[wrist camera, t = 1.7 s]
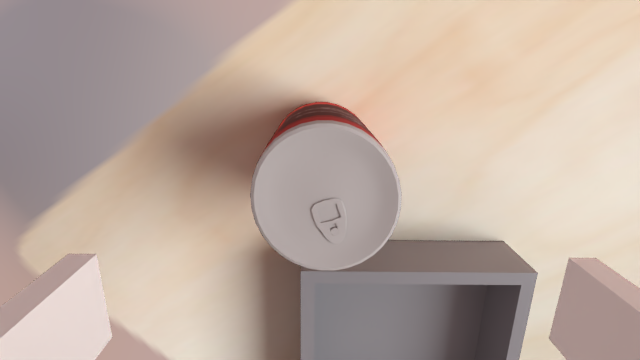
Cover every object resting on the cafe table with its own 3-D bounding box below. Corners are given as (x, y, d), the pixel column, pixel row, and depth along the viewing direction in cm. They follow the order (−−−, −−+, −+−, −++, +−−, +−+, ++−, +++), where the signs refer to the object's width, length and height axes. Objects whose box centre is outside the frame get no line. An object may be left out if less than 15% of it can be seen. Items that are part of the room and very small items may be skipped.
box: (475, 397, 36) (499, 448, 31) (302, 397, 36) (300, 448, 31) (503, 241, 31) (537, 273, 26) (302, 239, 31) (300, 271, 26)
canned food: (309, 216, 30) (306, 296, 20) (252, 136, 28) (215, 178, 18) (390, 167, 29) (432, 225, 19) (336, 80, 27) (349, 89, 17)
